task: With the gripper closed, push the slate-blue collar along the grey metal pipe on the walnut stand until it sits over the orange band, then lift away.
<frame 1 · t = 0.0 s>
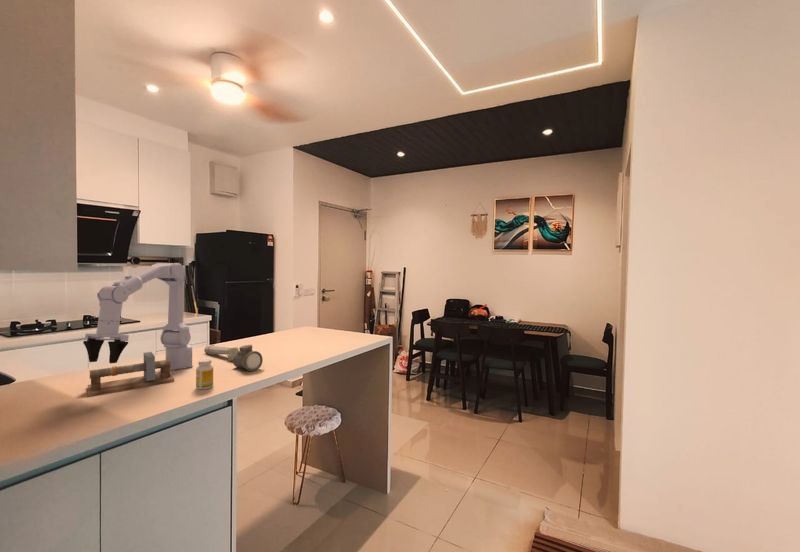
hand: (103, 362, 119), 11 cm above the counter, fingers open, 7 cm apart
grey handle: (222, 358, 168), on the counter
pipe stand: (132, 384, 128), on the counter
pipe fitting: (246, 369, 150), on the counter
supplement bottle: (204, 387, 127), on the counter
collar: (149, 366, 132), point 6 cm above the counter, slide at 0.0 cm
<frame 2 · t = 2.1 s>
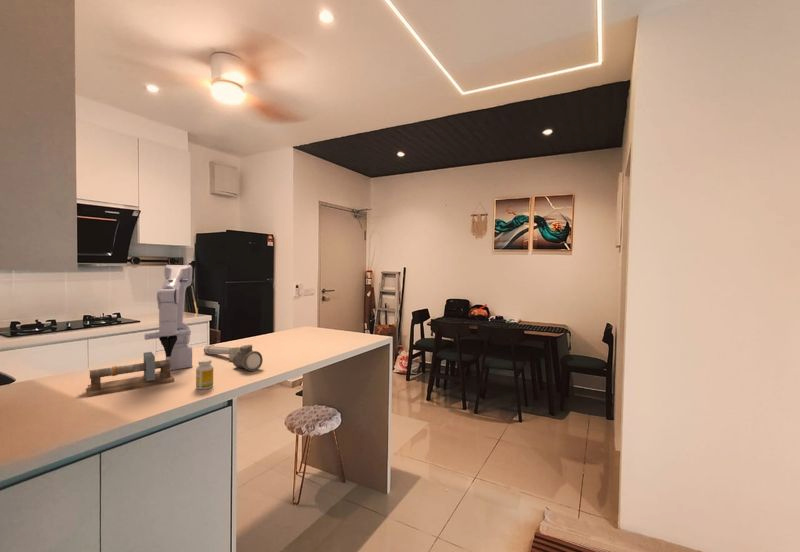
hand: (168, 356, 135), 8 cm above the counter, fingers closed
nothing on the counter moved.
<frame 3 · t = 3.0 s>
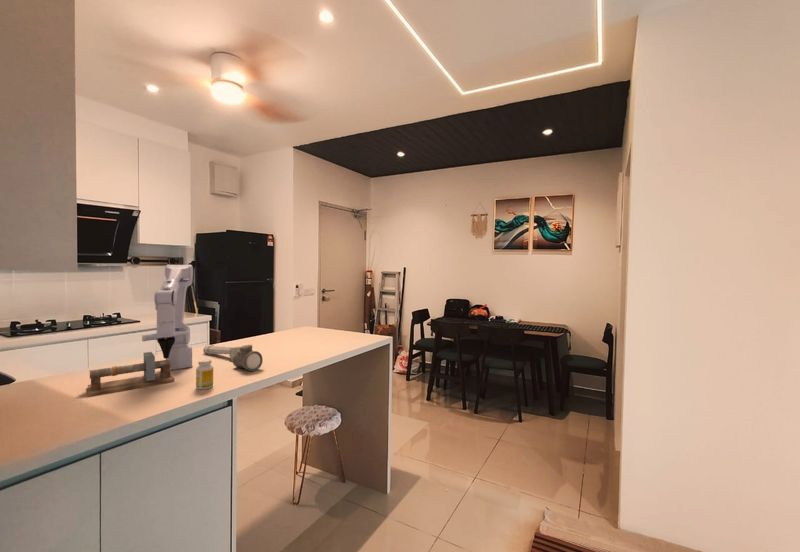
hand: (166, 357, 135), 8 cm above the counter, fingers closed
nothing on the counter moved.
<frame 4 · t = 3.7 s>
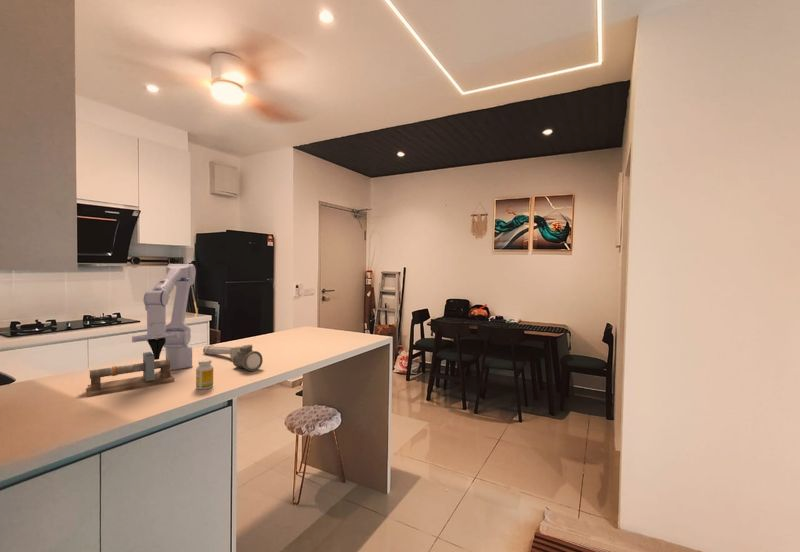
hand: (156, 359, 133), 8 cm above the counter, fingers closed
collar: (148, 366, 131), point 6 cm above the counter, slide at 0.2 cm, touching gripper
everything else where it was.
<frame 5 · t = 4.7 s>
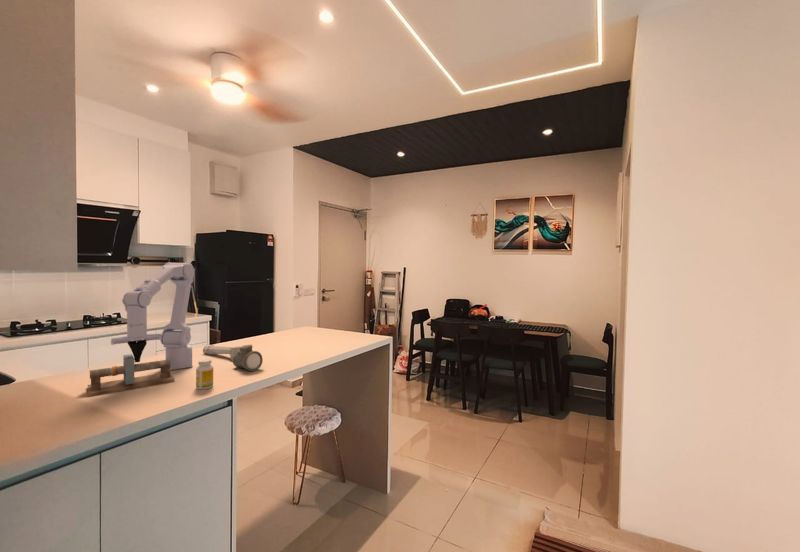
hand: (137, 361, 129), 8 cm above the counter, fingers closed
collar: (128, 369, 128), point 6 cm above the counter, slide at 6.0 cm, touching gripper
everything else where it was.
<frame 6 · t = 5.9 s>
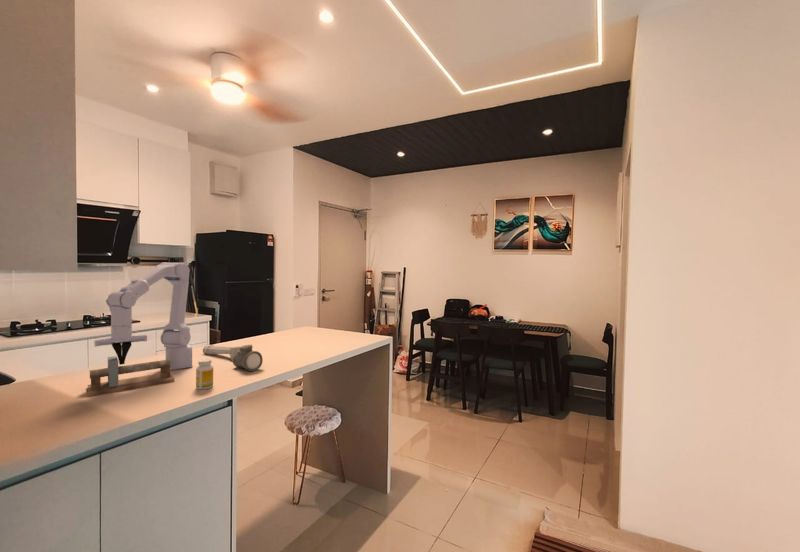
hand: (121, 363, 126), 8 cm above the counter, fingers closed
collar: (112, 371, 125), point 6 cm above the counter, slide at 10.4 cm, touching gripper
everything else where it was.
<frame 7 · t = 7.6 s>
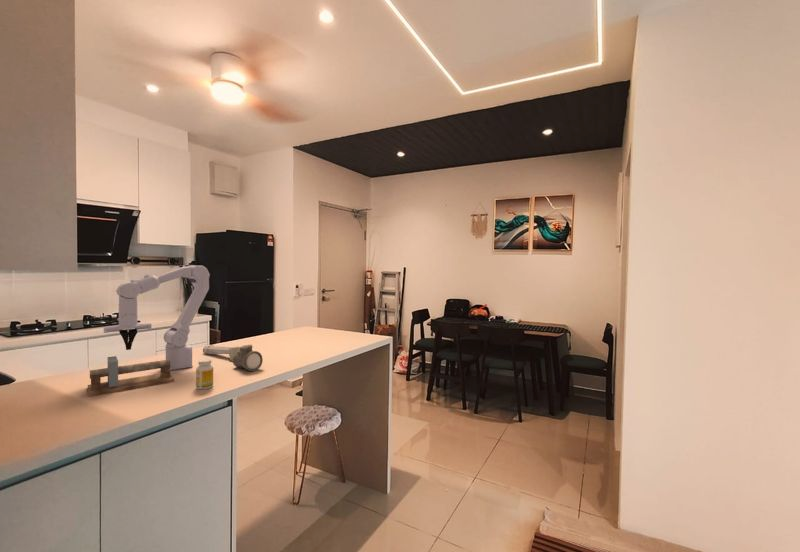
hand: (128, 349, 138), 10 cm above the counter, fingers closed
collar: (112, 371, 125), point 6 cm above the counter, slide at 10.5 cm
everything else where it was.
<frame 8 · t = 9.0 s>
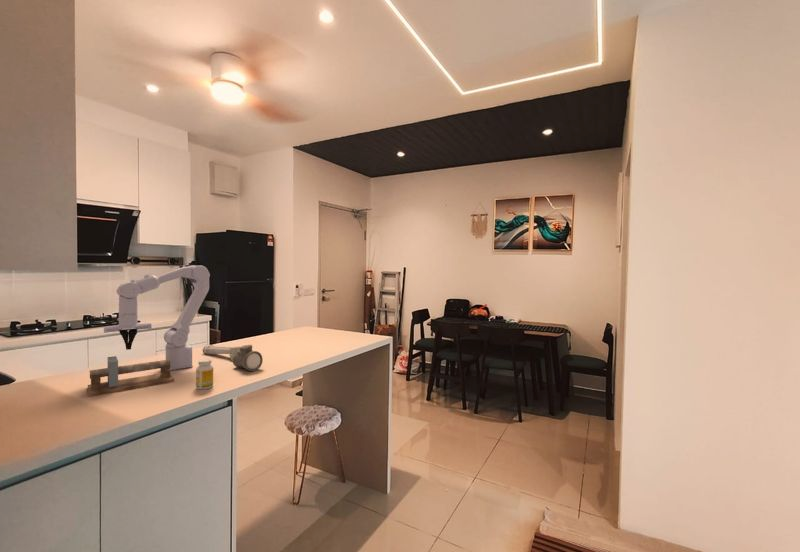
hand: (128, 349, 138), 10 cm above the counter, fingers closed
nothing on the counter moved.
at the end: collar slide at 10.5 cm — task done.
